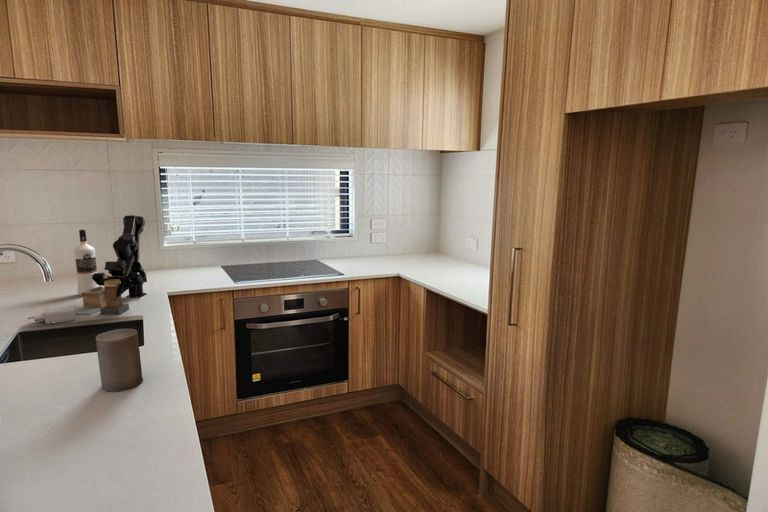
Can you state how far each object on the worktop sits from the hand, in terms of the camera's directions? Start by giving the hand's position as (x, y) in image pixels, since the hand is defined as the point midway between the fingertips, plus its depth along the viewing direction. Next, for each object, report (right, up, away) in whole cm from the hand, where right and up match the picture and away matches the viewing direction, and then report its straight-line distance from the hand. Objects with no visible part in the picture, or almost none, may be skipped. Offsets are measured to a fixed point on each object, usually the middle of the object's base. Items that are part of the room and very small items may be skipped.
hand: (111, 296), depth 195 cm
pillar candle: (+39, -18, -66) cm, 78 cm away
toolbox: (-12, -5, +13) cm, 18 cm away
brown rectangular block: (0, -6, +2) cm, 7 cm away
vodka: (-28, -2, +33) cm, 44 cm away
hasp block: (0, -6, +2) cm, 7 cm away
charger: (-18, -9, -8) cm, 21 cm away
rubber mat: (-11, -6, +3) cm, 13 cm away
